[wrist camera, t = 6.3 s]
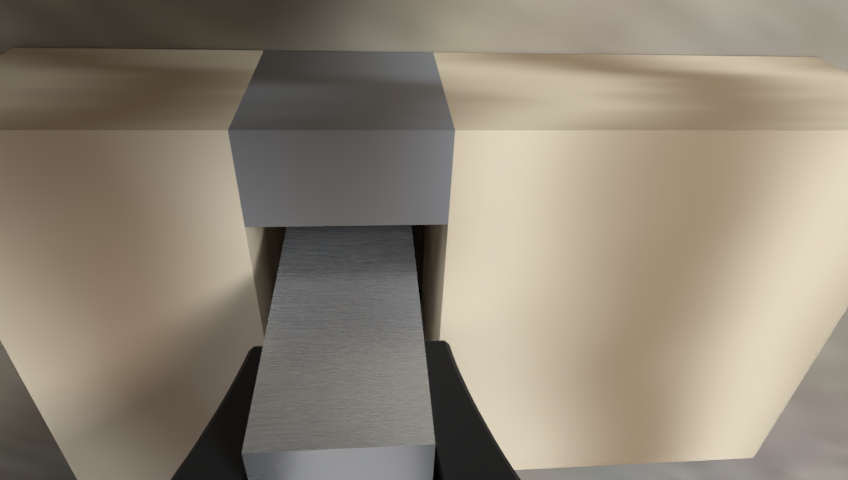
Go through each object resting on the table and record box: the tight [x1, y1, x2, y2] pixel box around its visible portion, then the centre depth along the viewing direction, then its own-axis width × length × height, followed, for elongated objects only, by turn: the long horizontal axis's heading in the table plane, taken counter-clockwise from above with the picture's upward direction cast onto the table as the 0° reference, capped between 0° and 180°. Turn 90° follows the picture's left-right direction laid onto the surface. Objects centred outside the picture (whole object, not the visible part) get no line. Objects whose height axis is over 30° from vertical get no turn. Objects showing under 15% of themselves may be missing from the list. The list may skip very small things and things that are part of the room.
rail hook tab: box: [242, 225, 435, 480], centre depth 12 cm, size 2×5×7 cm, turn 178°
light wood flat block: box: [0, 48, 848, 480], centre depth 14 cm, size 18×10×4 cm, turn 88°
